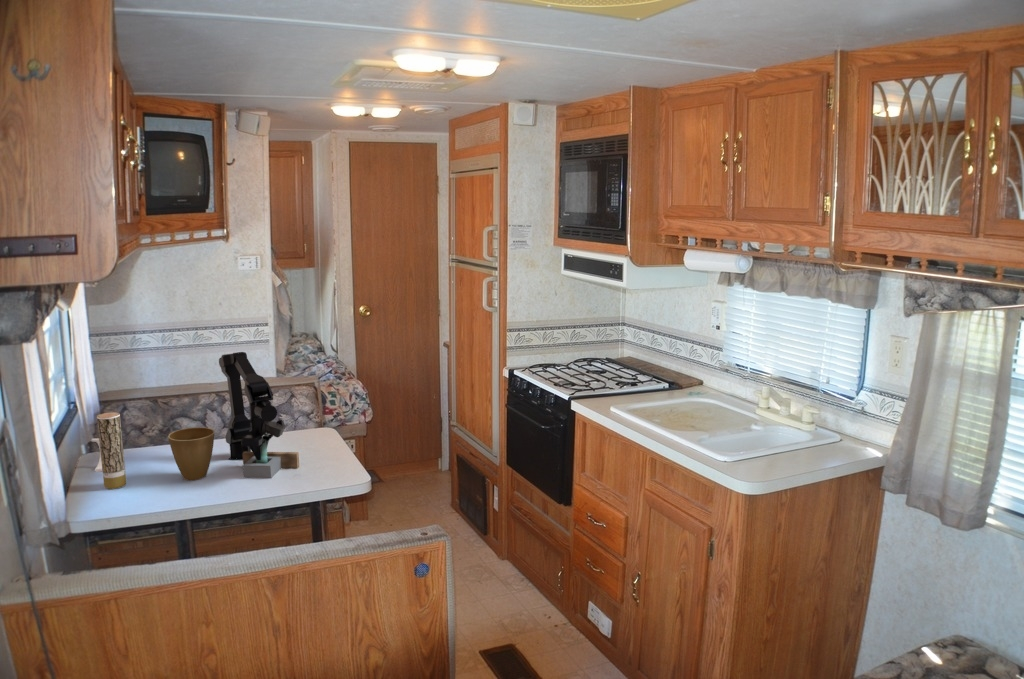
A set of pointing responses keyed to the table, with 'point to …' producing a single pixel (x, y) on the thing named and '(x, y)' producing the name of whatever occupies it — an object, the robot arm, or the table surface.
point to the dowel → (263, 454)
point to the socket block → (261, 468)
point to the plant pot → (192, 451)
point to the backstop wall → (287, 458)
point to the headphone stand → (99, 467)
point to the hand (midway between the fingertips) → (261, 458)
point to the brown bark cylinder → (111, 450)
